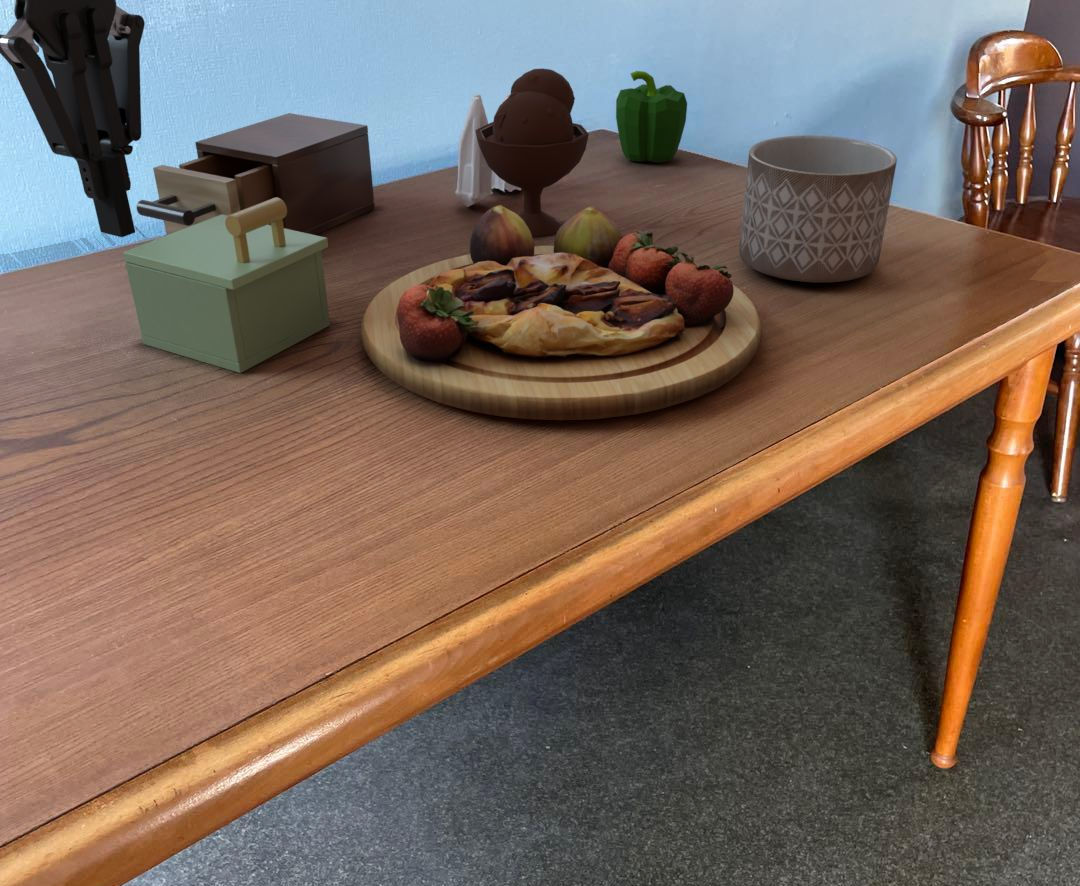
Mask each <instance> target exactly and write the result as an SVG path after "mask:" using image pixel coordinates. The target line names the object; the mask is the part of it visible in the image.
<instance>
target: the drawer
mask: <svg viewBox="0 0 1080 886" xmlns="http://www.w3.org/2000/svg"><path fill="white" fill-rule="evenodd" d="M272 165H273V164H268V163H263V162H258V161H252V160H247V159H242V158H236V157H231V156H226V155H220V154H215V153H213V154H210V155H207V156H204V157H201V158H198V157H197V158H195V159H191V160H188V161H186V162H183V163H179V164H178V167H176V166H171V165H166V164H160V165H158V166H154V167H153V168H152V171H153V174H154V180H155V183H156V184H155V185H156V190H157V194H158V199H155V200H153V201H150V200H146V199H140V200H139V201H137V203H136V211H137V213H138V215H140V216H142V217H148V218H151V219H156V220H160V221H163V224H164V231H165V234H166V235H169V234H172V233H174V232H177V231H180V230H182V229H185V228H187V227H190V226H193V225H195V224H198V223H201V222H203V221H206V220H208V219H211V218H214V217H216V216H219V215H227V216H228V215H231V214H233V213H236V212H239V211H241V210H244V209H246V208H249V207H252V206H254V205H257V204H259V203H262V202H265V201H267V200H270V199H272V198H275V197H277V196H276V189H275V182H274V174H273V167H272ZM268 225H271V223H270V224H268ZM166 235H165V236H166Z"/></svg>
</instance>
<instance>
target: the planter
mask: <svg viewBox="0 0 1080 886" xmlns="http://www.w3.org/2000/svg"><path fill="white" fill-rule="evenodd" d="M747 159H748V161H747V170H746V178H745V188H744V189H745V190H744V198H743V206H742V207H743V208H742V218H741V227H740V238H739V246H738V247H739V248H738V255H739V258H740V259H741V260H742V262H743V263H744V264H745V265H746V266H748V267H749V268H751V269H753V270H754V271H757V272H759V273H762V274H764V275H767V276H771V277H774V278H778V279H783V280H788V281H792V282H793V281H794V282H802V283H817V284H818V283H819V284H820V283H821V284H822V283H823V284H824V283H840V282H847V281H851V280H857V279H859V278H863V277H865V276H867V275H870V274H871V273H873V272H874V271H875V269H876V268H877V267H878V265H879V263H880V258H881V253H882V252H881V251H882V246H883V241H884V235H885V231H886V230H885V229H886V224H887V218H888V213H889V207H890V203H891V202H890V201H891V196H892V190H893V185H894V179H895V173H896V167H897V162H898V157H897V156H896V154H895V153H894V152H892V151H891V150H890V149H888V148H886V147H883V146H881V145H878V144H875V143H873V142H869V141H866V140H865V141H864V140H861V139H854V138H849V137H840V136H831V135H811V134H810V135H788V136H787V135H786V136H779V137H774V138H769V139H765V140H764V139H763V140H762V141H759V142H757V143H755V144H753V145H752V146H751V147H750V148H749V150H748V158H747Z"/></svg>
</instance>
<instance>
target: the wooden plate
mask: <svg viewBox="0 0 1080 886" xmlns="http://www.w3.org/2000/svg"><path fill="white" fill-rule="evenodd" d="M634 231H635V232H633V233H628V234H626V235H625V236H624V235H623V233H622V230H621V228H620V226H619V225H618V224H617V222H616V221H614V219H612V218H611V217H610V216H609V215H607V214H606V213H604V212H602V211H599V210H598V209H596V207H595V206H588V207H584V208H583V209H582V210H580V211H579V212H577V213H575V214H574V215H573V216H571V217H570V218H568V219H567V220H566V221H564V223H563V224H562V225H560V226H559V230H557V231H556V234H555V237H554V243H553V245H552V244H551V245H535V242H534V238H533V237H532V235H531V232H530V230H529V228H528V227H527V225H526V223H525V222H524V220H523V219H522V218H521V217H519V216H518V213H516V212H514V211H512V210H510V209H508V208H506V207H505V206H503V205H502V204H498V205H495V206H493V207H491V208H490V209H488V210H487V211H486V212H484V213H483V214H482V215H481V217H479V219H478V221H477V222H476V224H475V226H474V228H473V230H472V234H471V237H470V242H469V243H470V244H469V253H468V254H464V255H460V256H456V257H451V258H448V259H443V260H440V261H436V262H434V263H431V264H428V265H425V266H422V267H420V268H417V269H415V270H413V271H411V272H409V273H406V274H405V275H403V276H401V277H400V278H397V279H396V280H394V281H393V282H391V283H390V284H388V285H387V286H385V287H384V288H383V289H382V290H380V291H379V292H378V293H377V294H376V295H375V296H374V297H373V298H372V300H371V301H370V302H369V304H368V305H367V307H366V308H365V310H364V313H363V315H362V319H361V323H360V340H361V343H362V346H363V348H364V351H365V353H366V355H367V356H368V358H369V360H370V361H371V362H372V363H373V364H374V365H375V367H376V368H377V369H378V370H379V371H380V372H381V373H382V374H383V375H385V376H386V377H387V378H388V379H390V380H391V381H392V382H394V383H395V384H397V385H398V386H400V387H402V388H404V389H406V390H408V391H410V392H411V393H414V394H416V395H418V396H421V397H423V398H425V399H428V400H431V401H433V402H436V403H439V404H442V405H445V406H449V407H452V408H455V409H460V410H463V411H469V412H474V413H478V414H483V415H484V414H485V415H490V416H497V417H502V418H511V419H512V418H513V419H521V420H538V421H539V420H540V421H541V420H543V421H582V420H599V419H610V418H617V417H626V416H633V415H639V414H644V413H648V412H655V411H658V410H662V409H665V408H669V407H672V406H675V405H676V406H677V405H678V404H682V403H686V402H689V401H691V400H694V399H696V398H699V397H702V396H704V395H706V394H708V393H710V392H712V391H715V390H717V389H719V388H720V387H722V386H723V385H725V384H727V383H729V382H730V381H731V380H733V379H734V378H735V377H736V376H737V375H739V374H740V373H741V372H742V371H743V370H744V369H745V368H746V367H747V365H749V363H750V362H751V361H752V360H753V358H754V356H755V355H756V353H757V352H758V350H759V347H760V343H761V339H762V326H761V325H762V324H761V319H760V316H759V313H758V310H757V308H756V306H755V305H754V303H753V302H752V300H751V299H750V298H749V297H748V296H747V295H746V293H744V292H743V291H742V290H741V289H739V288H738V287H737V286H736V285H734V284H733V281H732V279H730V278H732V276H733V275H732V274H731V273H729V271H728V270H727V271H724V270H723V269H728V267H727V266H726V265H723V264H722V265H721V264H719V265H717V264H716V265H715V266H713V267H711V266H709V265H707V264H704V265H697V264H695V259H694V256H693V255H692V256H691V257H689V255H688V254H687V253H685V252H684V251H679V247H678V246H675V245H673V246H672V247H671V246H668V247H666V248H664V247H662V246H659V245H654V237H653V235H654V233H653V232H652V231H650V230H645V232H643V231H642V230H639V229H634ZM674 254H676V255H674ZM679 254H681V255H682V256H683V258H684V260H681V259H680V258H679V257H680V256H679Z"/></svg>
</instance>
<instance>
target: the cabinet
mask: <svg viewBox="0 0 1080 886" xmlns="http://www.w3.org/2000/svg"><path fill="white" fill-rule="evenodd" d="M194 143H195V148H196V149H195V150H196V154H197V159H198V158H201V157H204V156H207V155H210V154H213V153H215V154H220V155H226V156H231V157H236V158H242V159H247V160H252V161H258V162H263V163H268V164H273V165H272V167H273V174H274V182H275V189H276V196H277V198H280V199H282V200H283V201H284V203H285V205H286V207H287V215H286V216H285V217H284V218H282V219H283V227H284V228H285V229H290V230H294V231H298V232H303V233H307V234H312V235H316V236H317V235H318V234H321V233H323V232H325V231H327V230H329V229H330V230H331V229H333V228H334V227H336V226H339V225H341V224H343V223H345V222H348V221H350V220H352V219H354V218H355V219H356V218H357V217H360V216H361V215H364V214H366V213H368V212H371V211H374V210H375V209H376V207H375V196H374V195H375V194H374V186H373V185H374V184H373V175H372V173H373V172H372V165H371V164H372V163H371V152H370V150H371V149H370V139H369V128H368V125H366V124H361V123H354V122H348V121H343V120H336V119H329V118H322V117H316V116H309V115H305V114H304V115H303V114H297V113H292V112H288V113H285V114H282V115H278V116H275V117H272V118H268V119H265V120H262V121H260V122H256V123H253V124H249V125H245V126H243V127H239V128H236V129H233V130H229V131H227V132H223V133H220V134H217V135H213V136H211V137H207V138H204V139H200V140H198V141H195V142H194Z"/></svg>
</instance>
